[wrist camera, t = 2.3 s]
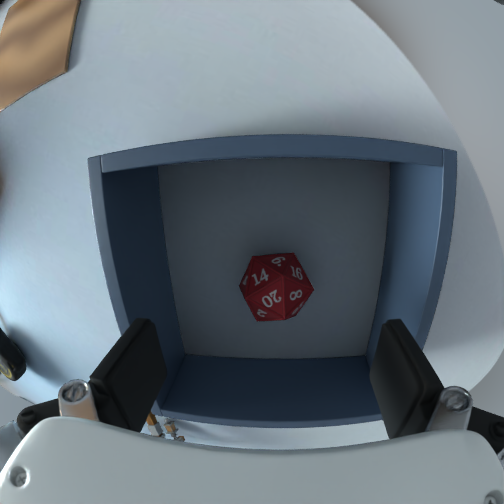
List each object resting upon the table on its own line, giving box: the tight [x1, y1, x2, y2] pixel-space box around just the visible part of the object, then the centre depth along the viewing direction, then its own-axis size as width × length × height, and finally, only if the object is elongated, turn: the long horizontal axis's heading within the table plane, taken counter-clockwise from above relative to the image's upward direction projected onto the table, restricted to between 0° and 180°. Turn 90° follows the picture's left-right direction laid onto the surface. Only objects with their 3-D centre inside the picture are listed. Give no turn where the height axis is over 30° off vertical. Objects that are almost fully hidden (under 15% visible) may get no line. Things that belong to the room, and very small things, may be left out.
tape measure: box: [0, 328, 26, 381], centre depth 23 cm, size 7×7×4 cm
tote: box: [87, 134, 457, 428], centre depth 14 cm, size 16×16×6 cm
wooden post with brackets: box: [146, 411, 185, 442], centre depth 22 cm, size 2×8×4 cm, turn 22°
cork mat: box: [0, 0, 81, 112], centre depth 11 cm, size 16×14×1 cm
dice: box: [239, 252, 314, 322], centre depth 15 cm, size 4×4×4 cm
